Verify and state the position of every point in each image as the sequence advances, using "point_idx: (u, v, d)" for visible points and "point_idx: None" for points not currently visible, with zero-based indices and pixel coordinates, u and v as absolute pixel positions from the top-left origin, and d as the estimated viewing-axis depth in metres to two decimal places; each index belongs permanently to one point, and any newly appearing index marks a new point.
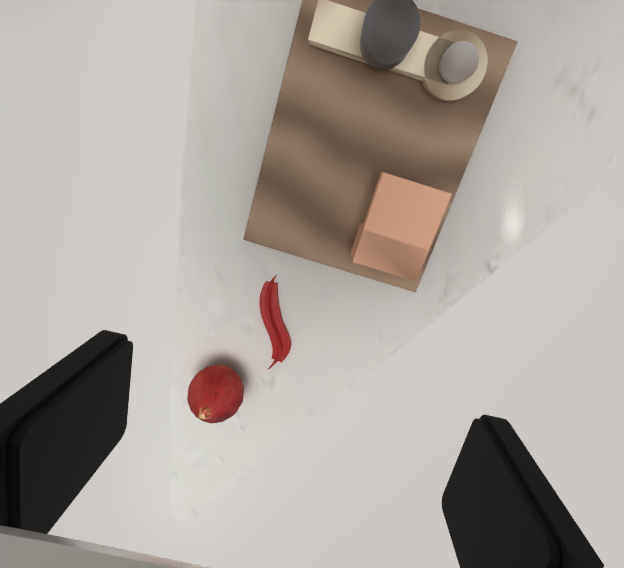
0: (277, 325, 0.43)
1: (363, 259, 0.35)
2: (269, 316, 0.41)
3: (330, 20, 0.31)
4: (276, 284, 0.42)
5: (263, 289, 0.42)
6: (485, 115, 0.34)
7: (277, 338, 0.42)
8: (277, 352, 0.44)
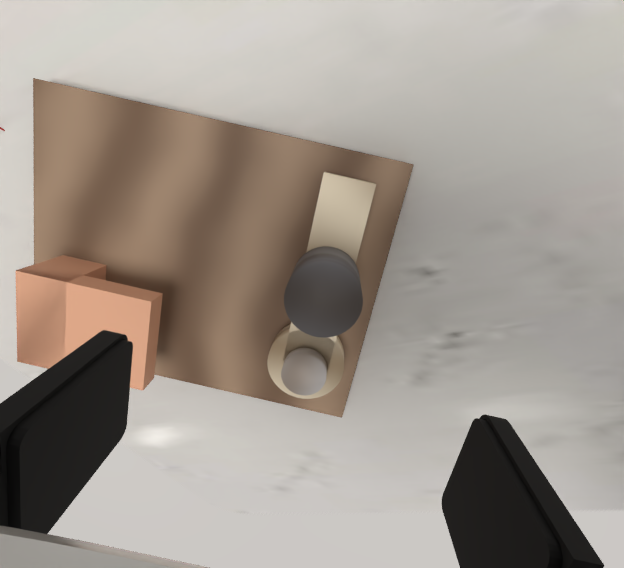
0: None
1: (24, 286, 0.23)
2: None
3: (348, 203, 0.22)
4: None
5: None
6: (262, 397, 0.28)
7: None
8: None
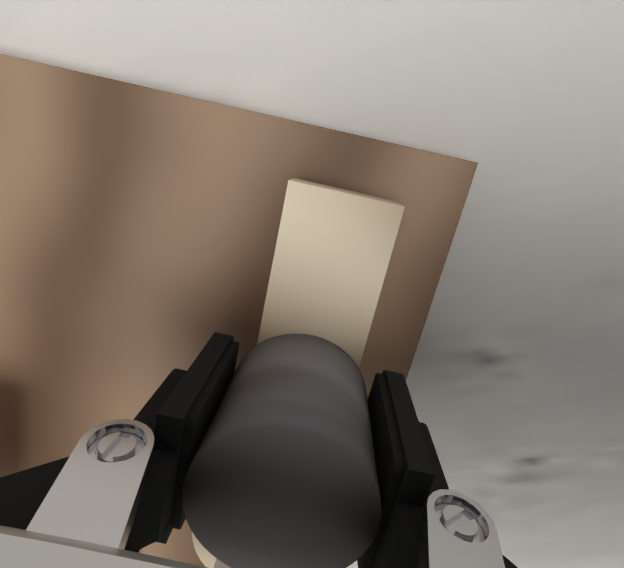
0: None
1: None
2: None
3: (344, 247, 0.10)
4: None
5: None
6: None
7: None
8: None
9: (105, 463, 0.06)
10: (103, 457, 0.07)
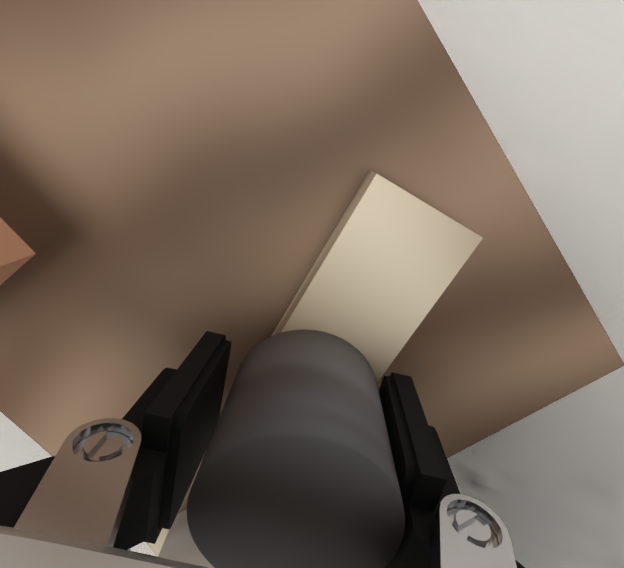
0: None
1: None
2: None
3: (407, 259, 0.10)
4: None
5: None
6: None
7: None
8: None
9: (92, 462, 0.06)
10: (89, 456, 0.07)
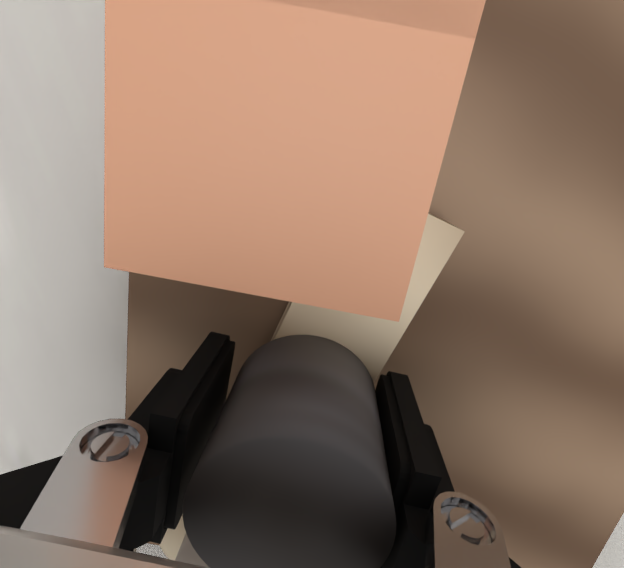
0: None
1: None
2: None
3: None
4: None
5: None
6: None
7: None
8: None
9: (98, 463, 0.06)
10: (96, 457, 0.07)
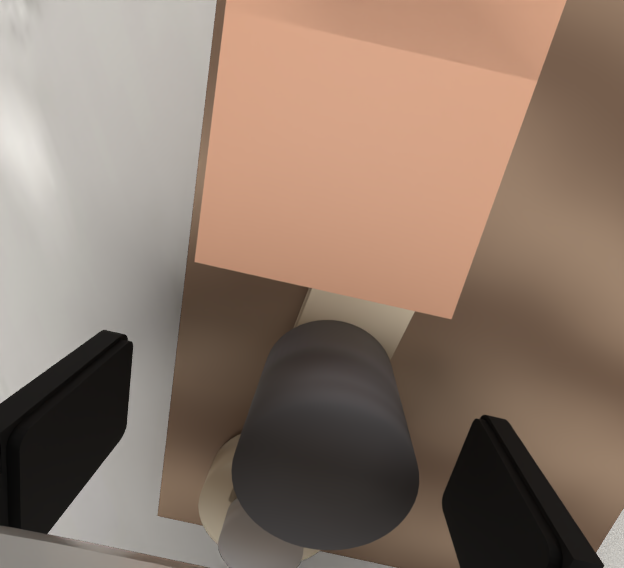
0: None
1: None
2: None
3: None
4: None
5: None
6: (174, 402, 0.15)
7: None
8: None
9: None
10: None
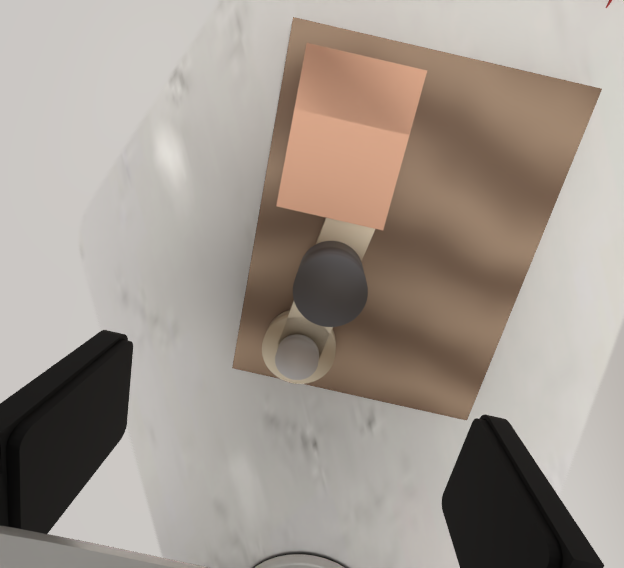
0: None
1: (407, 77, 0.19)
2: None
3: None
4: None
5: None
6: (247, 295, 0.27)
7: None
8: None
9: None
10: None
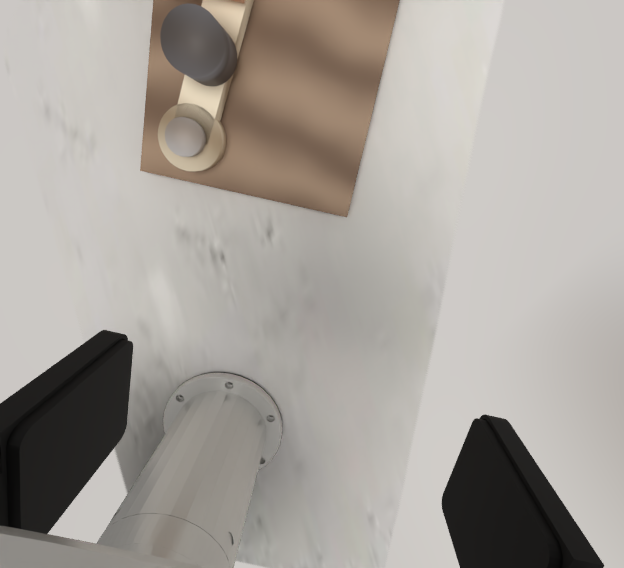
0: None
1: None
2: None
3: None
4: None
5: None
6: (148, 95, 0.31)
7: None
8: None
9: None
10: None
